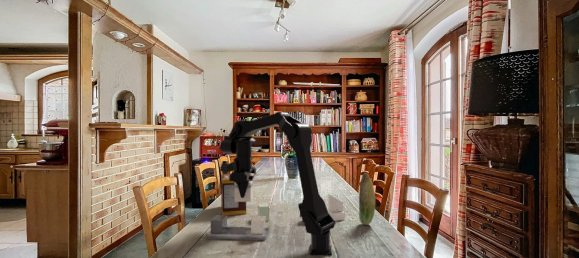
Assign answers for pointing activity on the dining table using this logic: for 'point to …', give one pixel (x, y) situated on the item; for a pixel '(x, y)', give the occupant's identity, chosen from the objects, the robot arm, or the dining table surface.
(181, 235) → the dining table surface
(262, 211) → the green block
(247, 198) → the block
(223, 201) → the supplement box
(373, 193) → the vegetable
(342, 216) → the white angled block
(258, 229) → the rail
